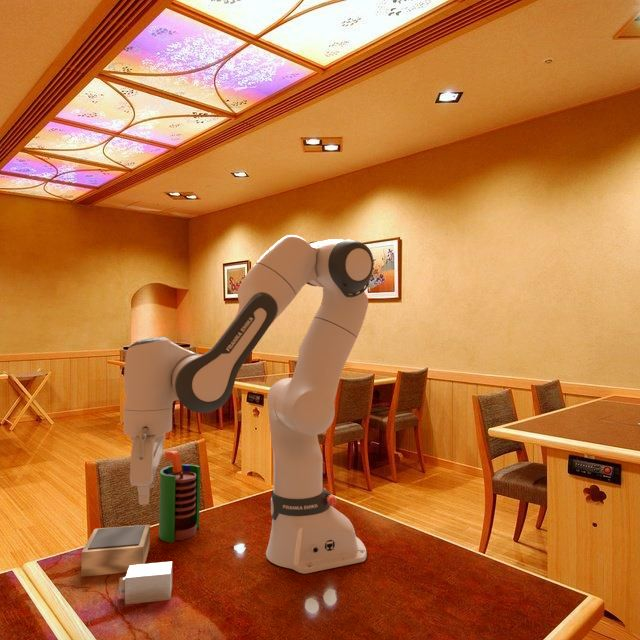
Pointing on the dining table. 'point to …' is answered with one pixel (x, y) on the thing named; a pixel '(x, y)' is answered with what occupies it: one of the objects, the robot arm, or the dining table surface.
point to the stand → (115, 550)
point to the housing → (147, 583)
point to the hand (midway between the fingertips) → (147, 494)
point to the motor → (178, 499)
